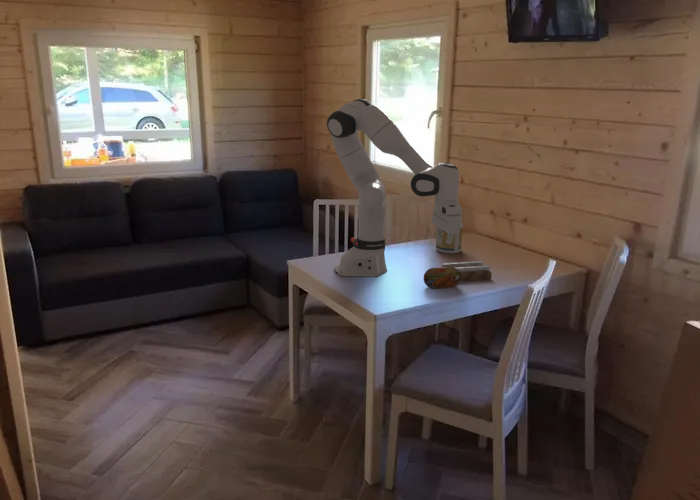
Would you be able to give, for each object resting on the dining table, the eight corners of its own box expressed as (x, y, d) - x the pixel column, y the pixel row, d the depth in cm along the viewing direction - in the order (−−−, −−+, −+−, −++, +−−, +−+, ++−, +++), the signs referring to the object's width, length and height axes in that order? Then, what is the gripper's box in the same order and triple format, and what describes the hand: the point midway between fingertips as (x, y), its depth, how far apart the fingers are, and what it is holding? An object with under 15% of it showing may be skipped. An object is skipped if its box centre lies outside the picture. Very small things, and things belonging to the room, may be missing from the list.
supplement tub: (449, 246, 299) (451, 212, 294) (466, 251, 289) (468, 217, 284) (430, 249, 292) (432, 215, 288) (447, 255, 283) (449, 220, 278)
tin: (424, 289, 237) (425, 269, 234) (422, 287, 240) (423, 267, 237) (460, 287, 240) (462, 267, 237) (457, 285, 243) (459, 265, 240)
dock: (450, 282, 246) (451, 270, 244) (439, 273, 257) (440, 262, 256) (491, 279, 250) (492, 268, 248) (478, 270, 261) (479, 259, 260)
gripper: (428, 200, 240) (427, 234, 243) (448, 211, 220) (446, 247, 224) (443, 200, 241) (442, 233, 245) (464, 210, 222) (462, 246, 226)
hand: (444, 240), depth 234 cm, fingers open, 8 cm apart
